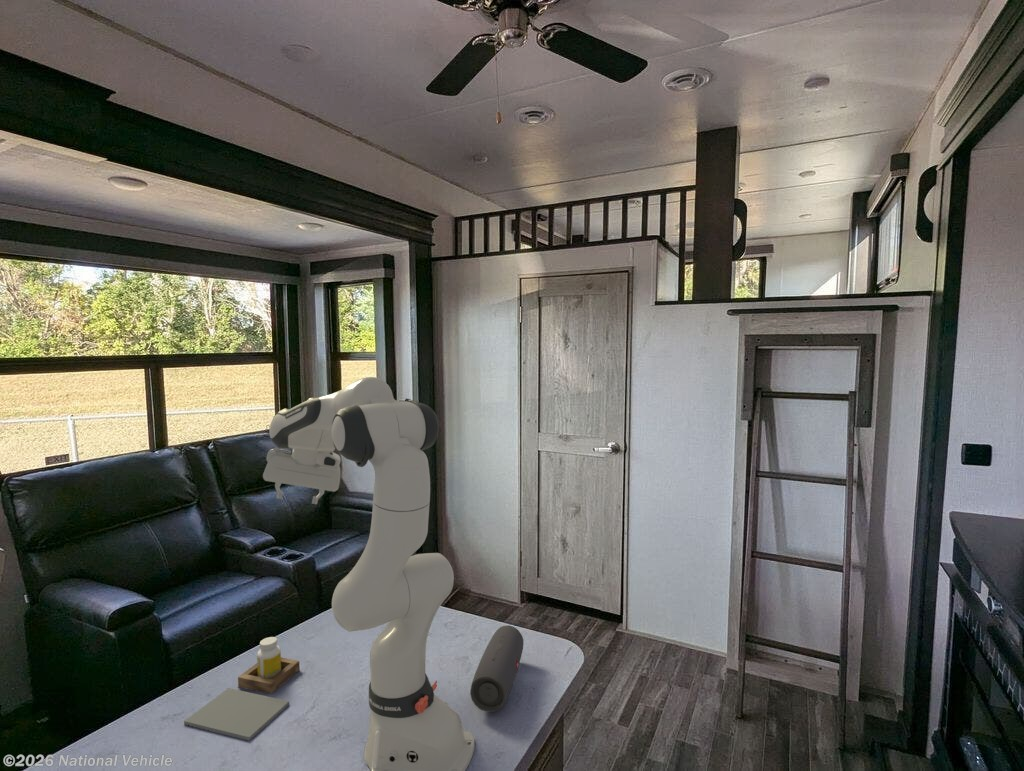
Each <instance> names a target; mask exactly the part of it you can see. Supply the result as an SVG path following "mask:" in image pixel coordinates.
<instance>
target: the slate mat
mask: <svg viewBox="0 0 1024 771" xmlns="http://www.w3.org/2000/svg"><path fill="white" fill-rule="evenodd" d="M288 706H290V701H289V700H285V699H280V698H276V697H272V696H267V695H263V694H257V693H253V692H248V691H244V690H239V689H234V688H230V687H228V688H226V689H225V690H223V691H222V692H221V693H220V694H218V695H217V696H215V697H214V698H213V699H212V700H210V701H209V702H207V703H206V704H204V706H202V707H201V708H200V709H198V710H197V711H195V712H194V713H193V714H192V715H190V716H189V717H187V718H186V719H185V720H183V725H185V726H188V725H189V727H192V726H193V727H192V728H196V727H197V728H198V729H201V730H204V729H205V731H208V730H209V732H212V733H217V734H221V735H224V736H228V737H232V738H237V739H240V740H244V741H249V742H250V741H251V740H252V739H253V738H254V737H255V736H256V735H257V734H259V733H260V732H261V731H262V730H263V729H264V728H265V727H267V726H268V724H270V723H271V721H273V720H274V719H275V718H276V717H277V716H279V715H280V713H282V712H283V711H284V710H285V709H286V708H288Z"/></svg>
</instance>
